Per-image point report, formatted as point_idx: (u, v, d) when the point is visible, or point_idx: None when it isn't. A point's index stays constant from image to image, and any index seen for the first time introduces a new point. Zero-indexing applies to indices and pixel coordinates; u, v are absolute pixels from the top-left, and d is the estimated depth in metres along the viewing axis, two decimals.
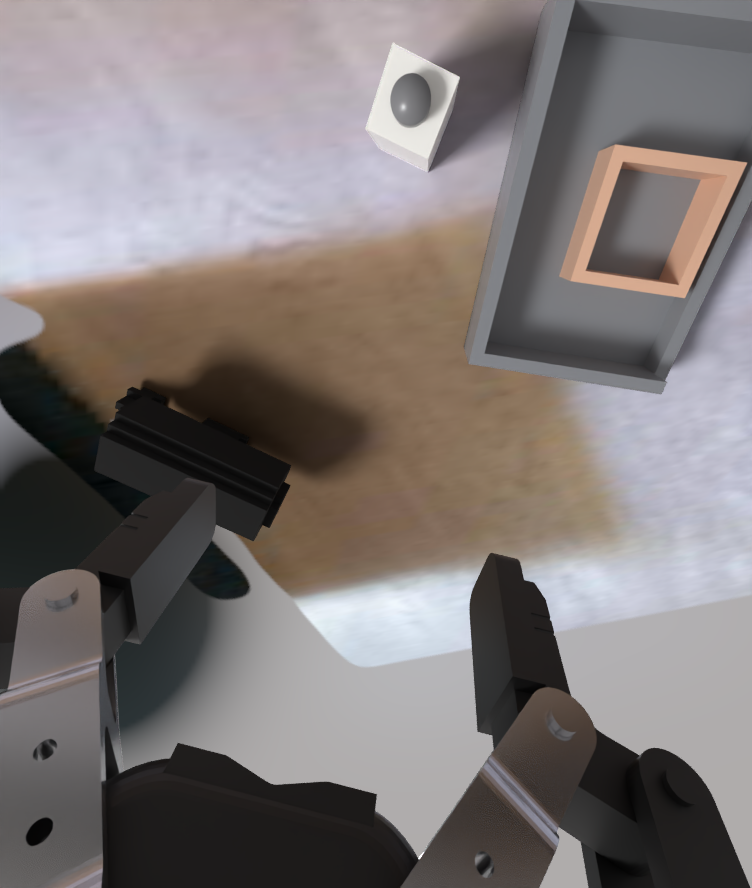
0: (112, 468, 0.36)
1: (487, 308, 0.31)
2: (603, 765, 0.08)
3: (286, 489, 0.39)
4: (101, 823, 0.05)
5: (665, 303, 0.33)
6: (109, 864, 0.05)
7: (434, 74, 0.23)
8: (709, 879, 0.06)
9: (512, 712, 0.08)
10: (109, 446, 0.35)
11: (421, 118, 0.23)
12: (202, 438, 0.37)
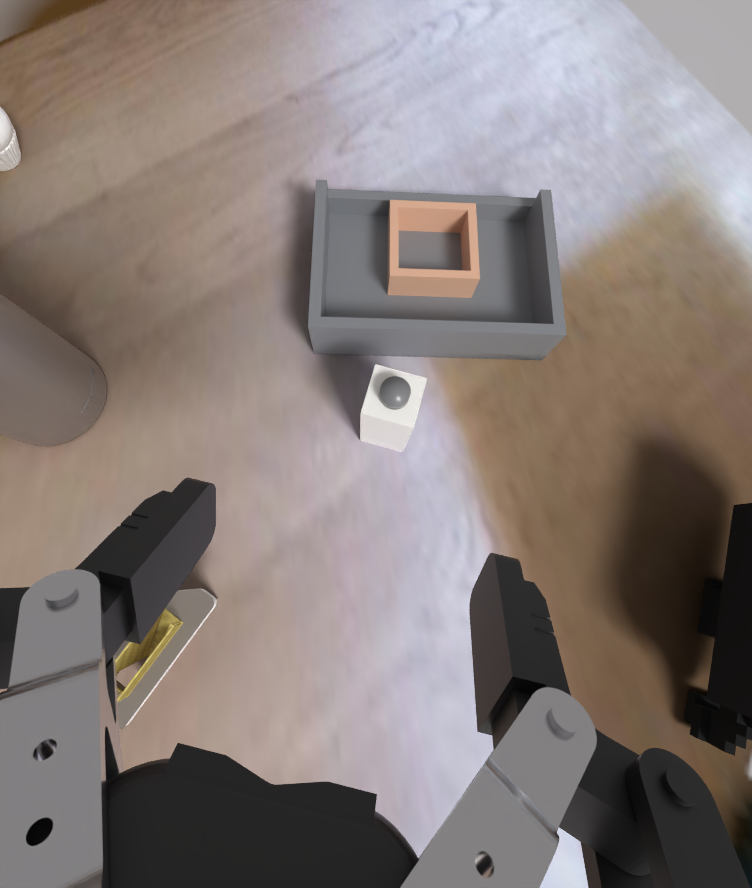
0: None
1: (516, 329, 0.36)
2: (603, 765, 0.08)
3: None
4: (101, 823, 0.05)
5: None
6: (109, 864, 0.05)
7: (375, 381, 0.31)
8: (709, 879, 0.06)
9: (512, 712, 0.08)
10: None
11: (405, 381, 0.30)
12: (743, 608, 0.30)
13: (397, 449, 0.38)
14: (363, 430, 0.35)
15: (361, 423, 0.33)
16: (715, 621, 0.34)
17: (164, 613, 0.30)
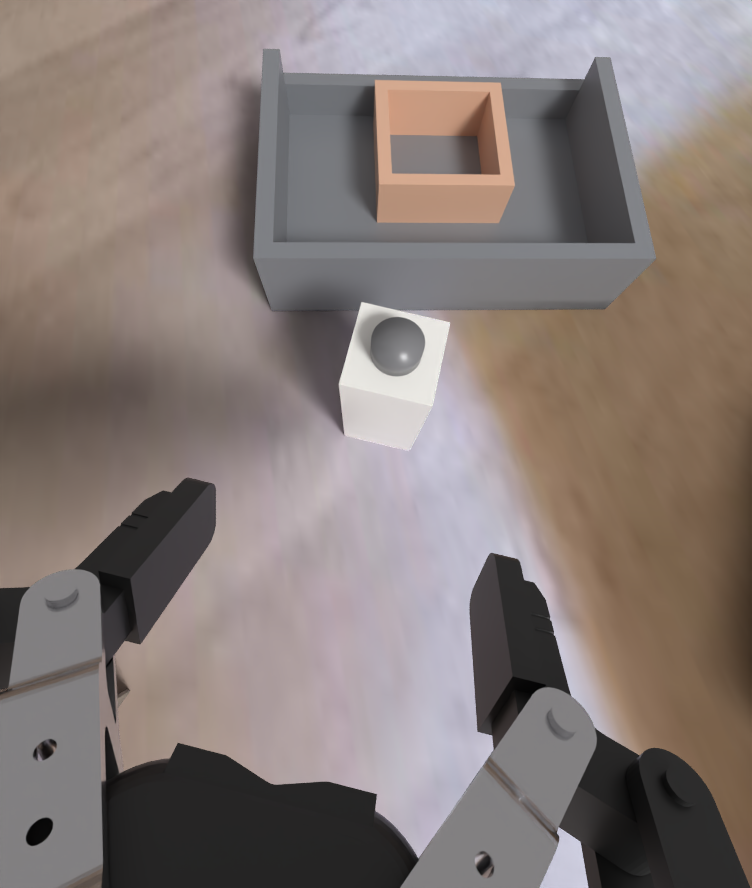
0: None
1: (578, 252, 0.23)
2: (603, 765, 0.08)
3: None
4: (101, 823, 0.05)
5: None
6: (109, 864, 0.05)
7: (362, 330, 0.18)
8: (709, 879, 0.06)
9: (512, 712, 0.08)
10: None
11: (415, 325, 0.17)
12: None
13: (402, 446, 0.25)
14: (347, 418, 0.22)
15: (342, 405, 0.20)
16: None
17: None
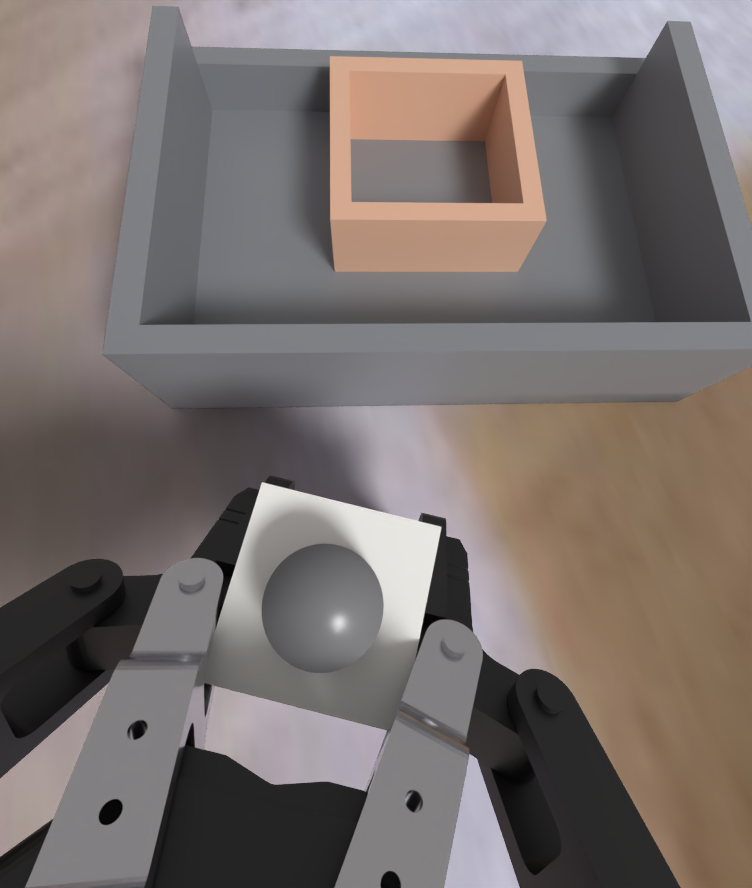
0: None
1: (658, 338, 0.14)
2: (489, 685, 0.08)
3: None
4: (158, 830, 0.05)
5: None
6: (156, 874, 0.05)
7: (260, 548, 0.09)
8: (581, 769, 0.07)
9: None
10: None
11: (363, 562, 0.08)
12: None
13: None
14: None
15: None
16: None
17: None
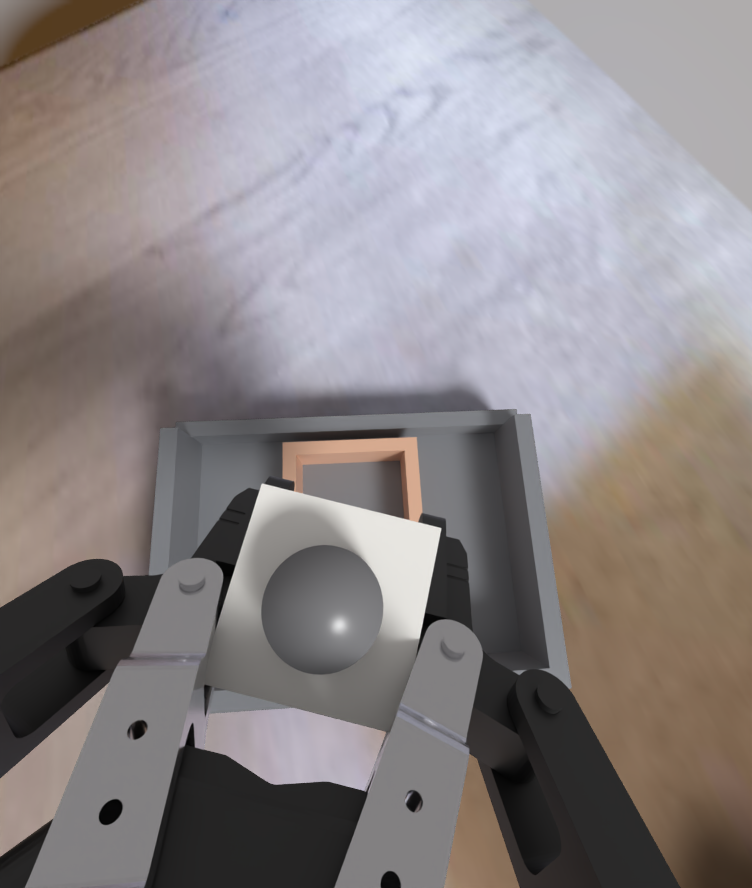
0: None
1: None
2: (490, 685, 0.08)
3: None
4: (158, 830, 0.05)
5: (422, 441, 0.29)
6: (156, 874, 0.05)
7: (260, 549, 0.09)
8: (582, 769, 0.07)
9: None
10: None
11: (363, 564, 0.08)
12: None
13: None
14: None
15: None
16: None
17: None
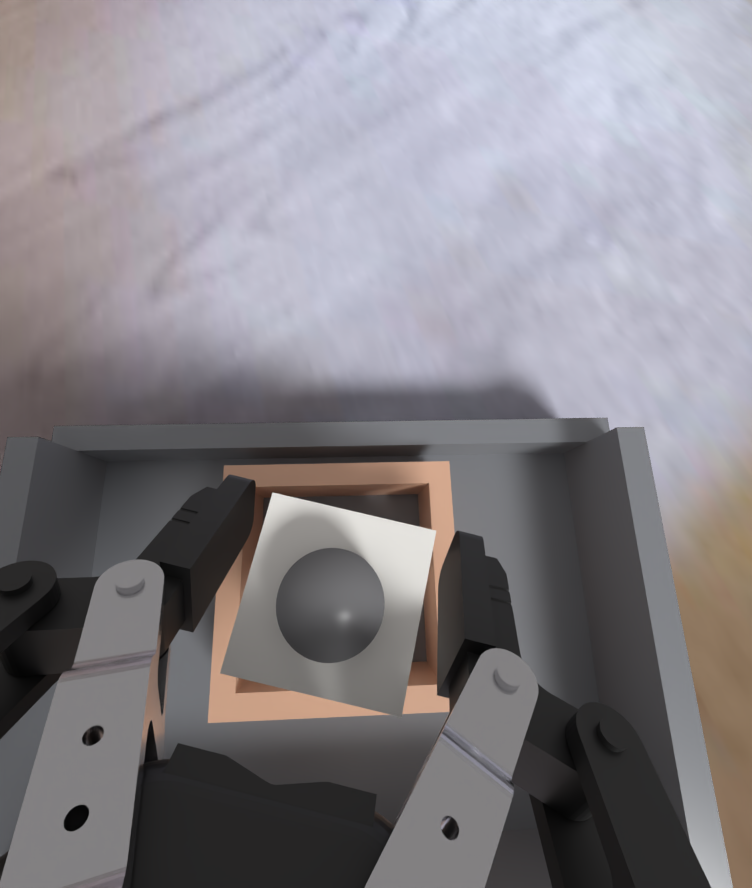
0: None
1: None
2: (545, 718, 0.08)
3: None
4: (130, 823, 0.05)
5: (452, 465, 0.19)
6: (133, 866, 0.05)
7: (272, 552, 0.10)
8: (643, 816, 0.07)
9: (464, 672, 0.09)
10: None
11: (366, 564, 0.09)
12: None
13: None
14: None
15: None
16: None
17: None
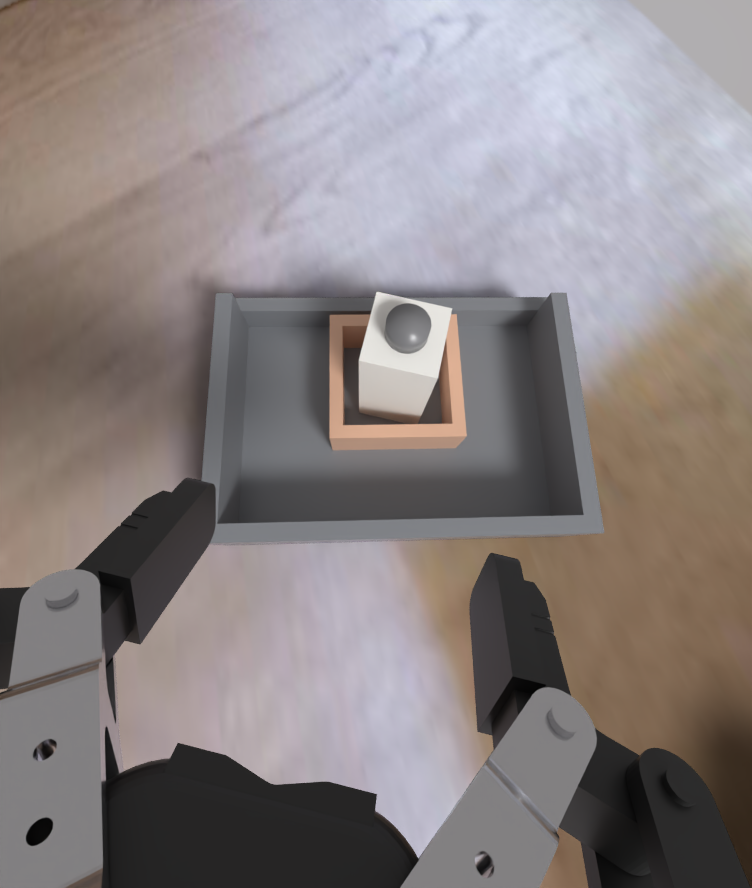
0: None
1: (526, 527, 0.23)
2: (603, 765, 0.08)
3: None
4: (101, 823, 0.05)
5: (457, 331, 0.30)
6: (109, 864, 0.05)
7: (378, 315, 0.21)
8: (709, 879, 0.06)
9: (512, 712, 0.08)
10: None
11: (423, 310, 0.21)
12: None
13: (410, 420, 0.28)
14: (363, 394, 0.25)
15: (360, 381, 0.23)
16: None
17: None
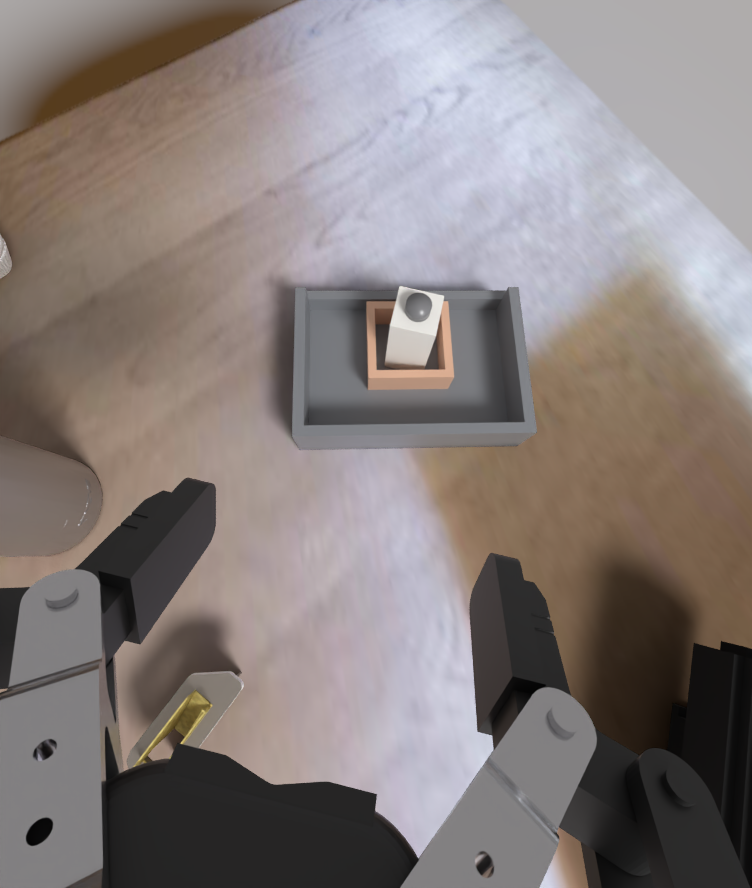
0: None
1: (489, 429, 0.38)
2: (603, 765, 0.08)
3: (729, 645, 0.33)
4: (101, 823, 0.05)
5: (449, 313, 0.45)
6: (109, 864, 0.05)
7: (400, 300, 0.36)
8: (709, 879, 0.06)
9: (512, 712, 0.08)
10: None
11: (427, 296, 0.36)
12: (703, 761, 0.31)
13: None
14: (389, 350, 0.40)
15: (388, 340, 0.38)
16: (681, 754, 0.35)
17: (195, 694, 0.33)
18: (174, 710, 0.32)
